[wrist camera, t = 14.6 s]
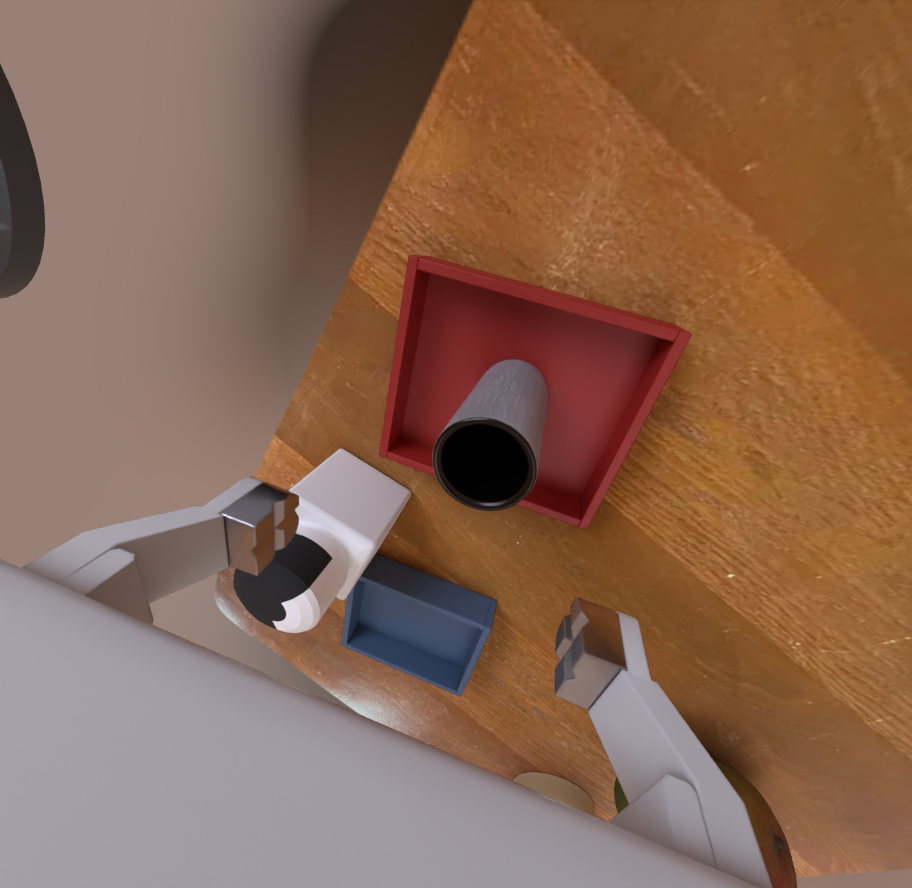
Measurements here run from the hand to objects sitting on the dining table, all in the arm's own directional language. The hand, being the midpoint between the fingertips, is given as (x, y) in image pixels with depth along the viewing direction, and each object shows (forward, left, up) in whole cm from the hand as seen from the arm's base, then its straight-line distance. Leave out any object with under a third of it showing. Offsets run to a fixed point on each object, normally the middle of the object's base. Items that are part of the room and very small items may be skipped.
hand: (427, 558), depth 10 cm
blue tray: (-2, -25, -17) cm, 30 cm away
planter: (0, 0, -17) cm, 16 cm away
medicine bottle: (-9, -14, -17) cm, 24 cm away
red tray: (0, 0, -17) cm, 17 cm away
